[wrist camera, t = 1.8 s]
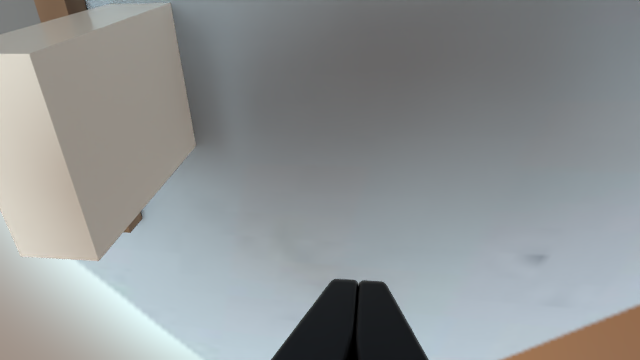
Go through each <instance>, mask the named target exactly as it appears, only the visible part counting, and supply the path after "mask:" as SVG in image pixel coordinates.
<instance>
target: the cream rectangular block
mask: <svg viewBox="0 0 640 360" xmlns="http://www.w3.org/2000/svg"><path fill="white" fill-rule="evenodd" d="M195 147H196V142H195V137H194V131H193V126H192V120H191V115H190V109H189V103H188V98H187V92H186V87H185V81H184V75H183V70H182V64H181V59H180V53H179V48H178V42H177V36H176V31H175V25H174V20H173V14H172V8H171V3H125V4H106V5H103V6H99V7H96V8H92V9H89V10H85V11H82V12H78V13H75V14H71V15H68V16H64V17H60V18H57V19H53V20H50V21H46V22H43V23H39V24H36V25H32V26H29V27H25V28H22V29H18V30H15V31H11V32H8V33H4V34H0V211H1V213H2V215H3V217H4V219H5V222H6V224H7V226H8V229H9V231H10V233H11V235H12V238H13V240H14V242H15V244H16V247H17V249H18V251H19V254H20V256H21V257H40V258H56V259H74V260H92V261H99V260H100V259H101V258H102V257H103V256H104V254H105V253H106V252H107V251H108V250H109V248H110V247H111V246H112V245H113V244H114V243H115V241H116V240H117V239H118V238H119V237H120V235H121V234H122V233H123V232H124V231H125V230H126V228H127V227H128V226H129V225H130V224H131V222H132V221H133V220H134V219H135V218H136V217H137V215H138V214H139V213H140V212H141V211H142V209H143V208H144V207H145V206H146V205H147V204H148V202H149V201H150V200H151V199H152V198H153V196H154V195H155V194H156V193H157V192H158V191H159V189H160V188H161V187H162V186H163V185H164V184H165V182H166V181H167V180H168V179H169V178H170V176H171V175H172V174H173V173H174V172H175V171H176V169H177V168H178V167H179V166H180V165H181V163H182V162H183V161H184V160H185V159H186V158H187V156H188V155H189V154H190V153H191V152H192V150H193V149H194V148H195Z"/></svg>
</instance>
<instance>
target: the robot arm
mask: <svg viewBox="0 0 640 360" xmlns="http://www.w3.org/2000/svg"><path fill="white" fill-rule="evenodd" d="M271 360H428V358H427V356H426V354H425V352H424V351H423V349H422V347H421V345H420V344H419V342H418V340H417V338H416V336H415V335H414V333H413V331H412V329H411V328H410V326H409V324H408V322H407V320H406V319H405V317H404V315H403V313H402V311H401V310H400V308H399V306H398V304H397V303H396V301H395V299H394V297H393V295H392V294H391V292H390V290H389V288H388V287H387V285H386V284H385V283H384V282H382V281H365V280H363V281H361V282H360V283H359V286H358V282H357V281H356V280H347V279H334V280H332V281H331V282H330V283H329V285H328V286H327V287H326V289H325V290H324V291H323V292H322V294H321V295H320V296H319V298H318V299H317V300H316V302H315V303H314V304H313V306H312V307H311V308H310V309H309V311H308V312H307V313H306V315H305V316H304V317H303V319H302V320H301V321H300V323H299V324H298V325H297V326H296V328H295V329H294V330H293V332H292V333H291V334H290V336H289V337H288V338H287V340H286V341H285V342H284V343H283V345H282V346H281V347H280V349H279V350H278V351H277V353H276V354H275V355H274V357H273V358H272V359H271Z"/></svg>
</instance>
